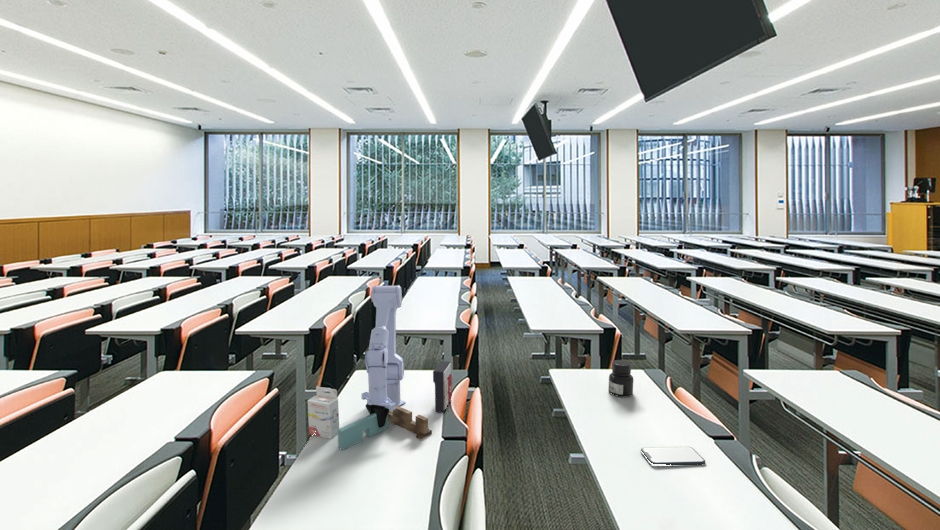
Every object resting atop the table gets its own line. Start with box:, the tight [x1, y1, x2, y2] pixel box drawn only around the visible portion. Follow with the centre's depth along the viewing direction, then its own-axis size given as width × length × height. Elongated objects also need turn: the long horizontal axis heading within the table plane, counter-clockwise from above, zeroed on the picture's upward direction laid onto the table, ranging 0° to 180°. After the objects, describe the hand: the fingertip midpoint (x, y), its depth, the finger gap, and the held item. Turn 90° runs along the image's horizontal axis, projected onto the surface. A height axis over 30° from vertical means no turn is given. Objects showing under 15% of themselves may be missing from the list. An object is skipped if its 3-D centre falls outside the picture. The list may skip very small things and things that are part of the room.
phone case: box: [640, 446, 706, 466], centre depth 143 cm, size 9×2×16 cm
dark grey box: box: [432, 360, 453, 413], centre depth 176 cm, size 11×4×15 cm, turn 168°
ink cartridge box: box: [307, 385, 340, 440], centre depth 157 cm, size 9×5×15 cm, turn 71°
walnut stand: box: [388, 406, 433, 441], centre depth 162 cm, size 22×5×6 cm, turn 51°
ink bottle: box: [607, 359, 634, 397], centre depth 187 cm, size 10×9×12 cm
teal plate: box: [337, 413, 389, 450], centre depth 155 cm, size 18×2×6 cm, turn 140°
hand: (379, 425), depth 160 cm, fingers closed on teal plate, 2 cm apart
